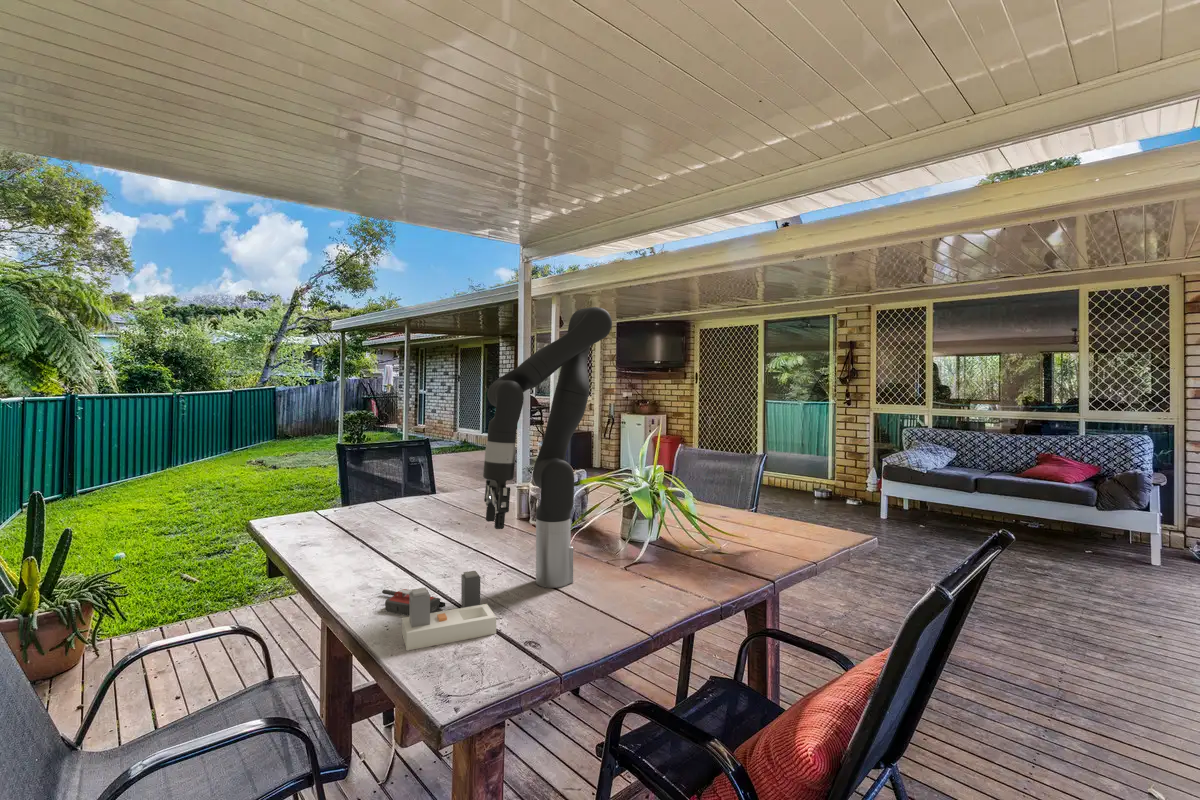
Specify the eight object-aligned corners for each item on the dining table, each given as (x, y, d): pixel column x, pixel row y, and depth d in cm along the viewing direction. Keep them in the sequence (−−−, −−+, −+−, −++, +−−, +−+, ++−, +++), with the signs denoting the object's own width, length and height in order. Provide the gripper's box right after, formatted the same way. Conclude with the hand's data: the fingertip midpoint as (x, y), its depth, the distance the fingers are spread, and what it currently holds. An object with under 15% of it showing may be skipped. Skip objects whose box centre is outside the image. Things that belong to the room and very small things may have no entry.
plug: (476, 605, 132) (476, 569, 132) (480, 611, 129) (480, 574, 129) (461, 608, 131) (461, 571, 131) (464, 613, 128) (464, 576, 127)
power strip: (486, 619, 125) (486, 574, 124) (496, 633, 117) (496, 586, 117) (402, 634, 117) (402, 586, 117) (406, 650, 110) (406, 599, 109)
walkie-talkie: (451, 607, 132) (385, 595, 140) (451, 588, 132) (385, 577, 140) (427, 621, 124) (358, 608, 132) (427, 602, 124) (358, 589, 132)
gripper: (523, 464, 134) (517, 531, 134) (506, 457, 147) (501, 518, 147) (492, 463, 131) (486, 532, 130) (478, 456, 143) (472, 518, 143)
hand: (494, 524), depth 138 cm, fingers open, 8 cm apart
